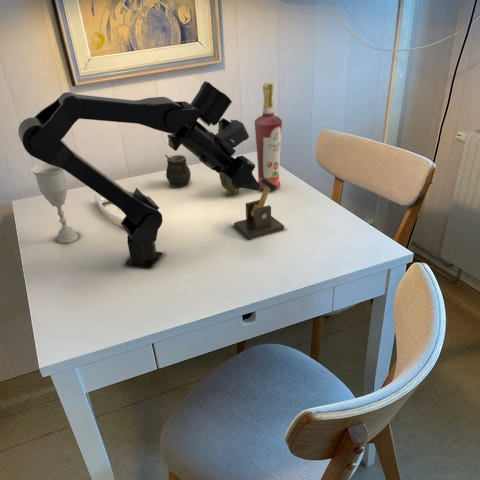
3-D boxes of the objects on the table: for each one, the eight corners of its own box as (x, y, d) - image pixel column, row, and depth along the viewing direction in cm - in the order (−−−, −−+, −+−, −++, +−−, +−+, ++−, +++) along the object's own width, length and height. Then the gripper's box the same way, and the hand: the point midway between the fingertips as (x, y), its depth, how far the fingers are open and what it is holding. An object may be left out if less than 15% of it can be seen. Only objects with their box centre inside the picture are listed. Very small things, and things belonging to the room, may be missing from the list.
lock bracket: (248, 239, 119) (247, 215, 115) (233, 226, 124) (232, 203, 120) (284, 229, 122) (284, 206, 118) (268, 217, 128) (268, 194, 124)
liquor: (267, 195, 139) (266, 88, 122) (250, 188, 143) (247, 84, 126) (286, 188, 142) (288, 83, 125) (269, 181, 147) (269, 79, 130)
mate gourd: (196, 182, 149) (193, 149, 143) (181, 191, 144) (177, 157, 138) (177, 178, 152) (173, 145, 146) (162, 186, 147) (157, 153, 141)
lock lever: (270, 184, 115) (278, 186, 116) (260, 177, 118) (268, 179, 120) (257, 220, 118) (265, 221, 120) (247, 212, 122) (255, 214, 123)
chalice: (52, 246, 120) (30, 175, 109) (53, 234, 125) (32, 164, 114) (83, 241, 121) (64, 170, 110) (82, 229, 126) (64, 160, 115)
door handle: (119, 194, 144) (162, 223, 127) (88, 204, 139) (128, 235, 123) (117, 185, 142) (160, 214, 126) (85, 195, 137) (126, 225, 121)
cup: (216, 191, 142) (214, 164, 137) (239, 186, 145) (237, 159, 140) (226, 201, 137) (224, 173, 132) (250, 195, 139) (249, 168, 134)
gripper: (244, 121, 96) (291, 165, 106) (206, 101, 109) (251, 141, 120) (211, 168, 98) (260, 207, 109) (177, 143, 112) (224, 179, 122)
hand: (249, 181), depth 115 cm, fingers open, 9 cm apart
